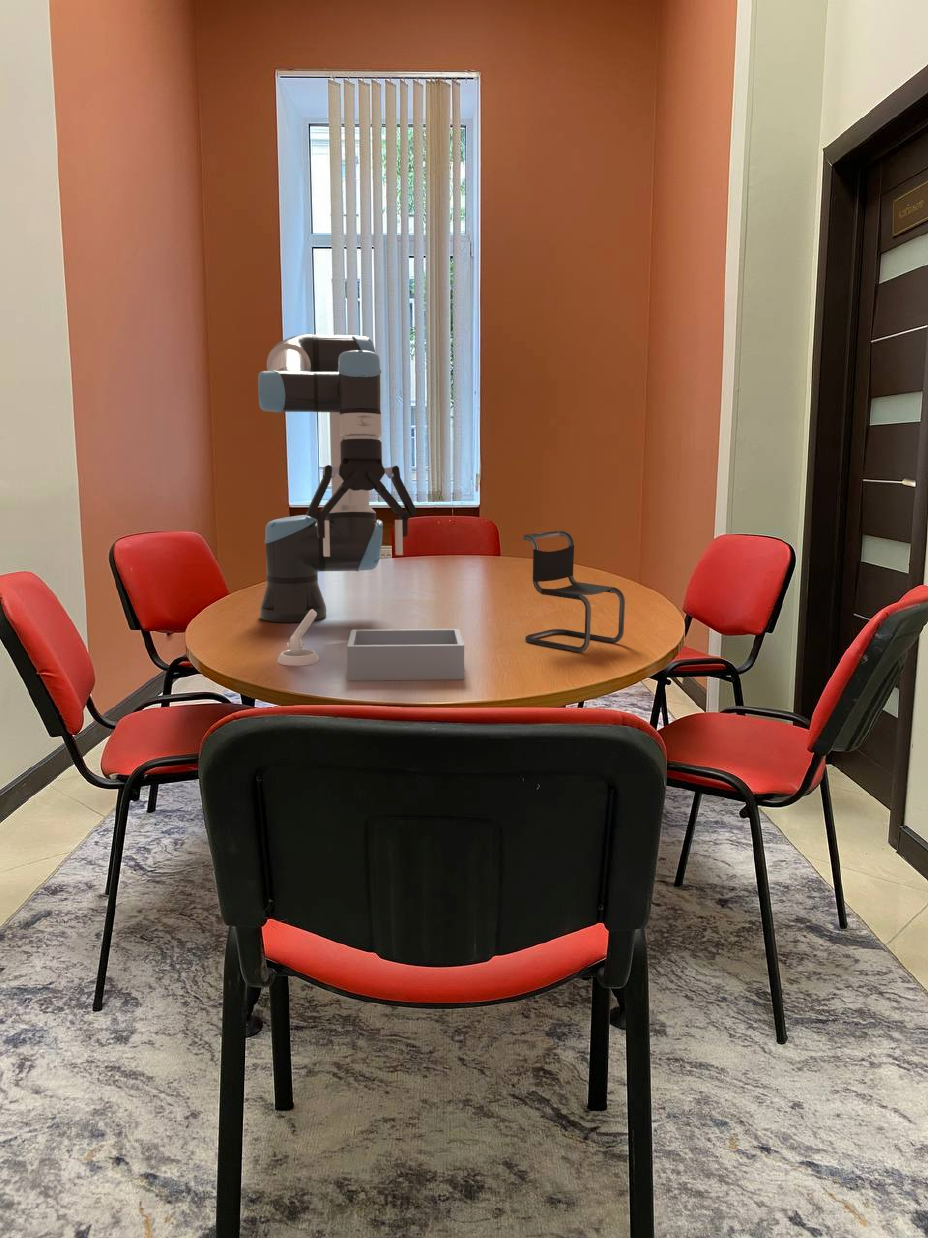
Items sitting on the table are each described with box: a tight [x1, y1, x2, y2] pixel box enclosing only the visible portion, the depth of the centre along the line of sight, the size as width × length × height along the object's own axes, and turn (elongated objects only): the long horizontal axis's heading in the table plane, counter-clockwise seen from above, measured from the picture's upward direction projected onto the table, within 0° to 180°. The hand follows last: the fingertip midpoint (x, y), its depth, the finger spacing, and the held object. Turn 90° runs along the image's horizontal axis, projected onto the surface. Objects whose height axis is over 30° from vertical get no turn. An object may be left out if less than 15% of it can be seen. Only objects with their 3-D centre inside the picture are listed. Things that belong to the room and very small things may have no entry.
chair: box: [523, 530, 626, 653], centre depth 184 cm, size 13×17×22 cm
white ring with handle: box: [277, 609, 320, 667], centre depth 168 cm, size 8×12×7 cm
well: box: [346, 628, 465, 682], centre depth 162 cm, size 14×20×6 cm
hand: (363, 555), depth 168 cm, fingers open, 13 cm apart
